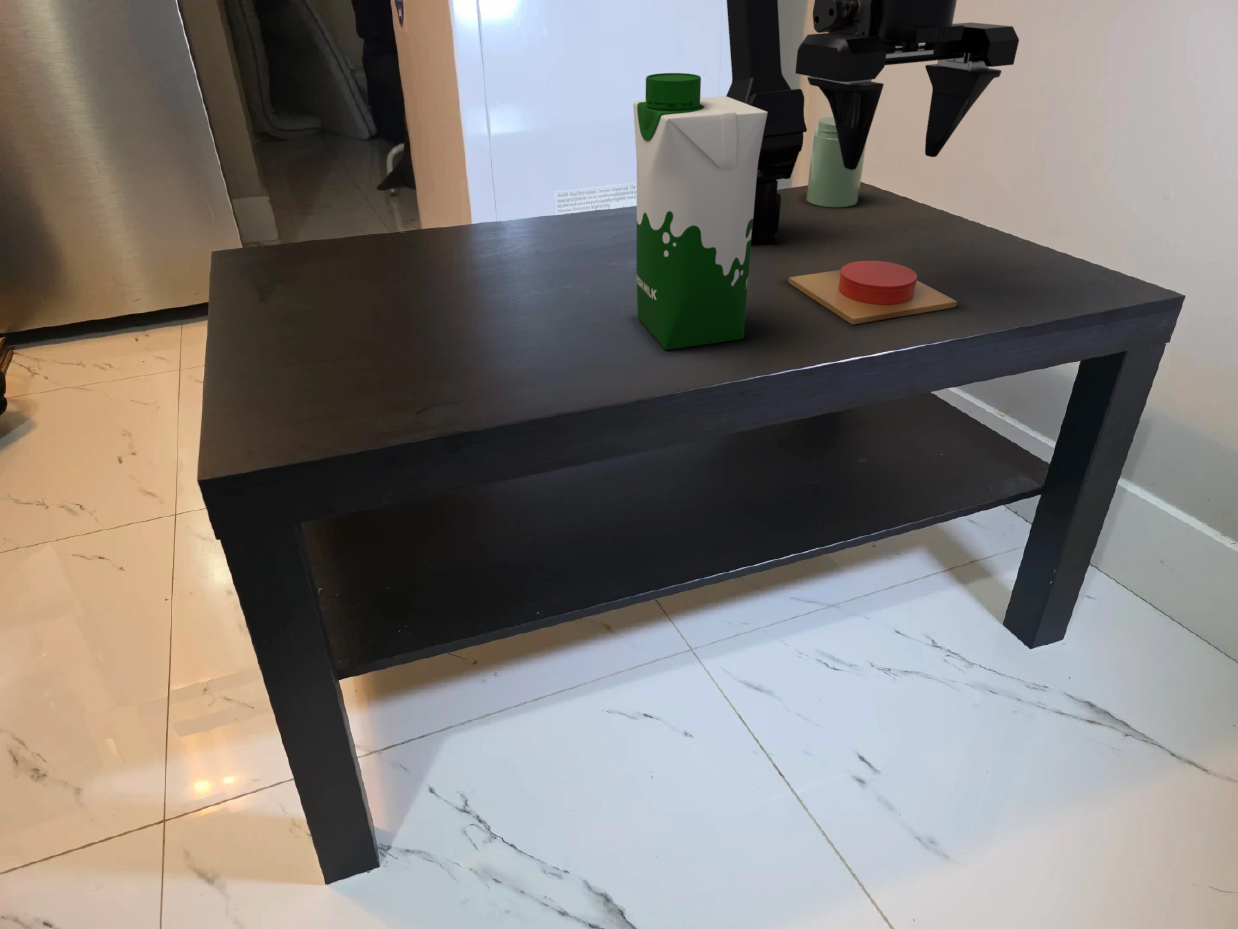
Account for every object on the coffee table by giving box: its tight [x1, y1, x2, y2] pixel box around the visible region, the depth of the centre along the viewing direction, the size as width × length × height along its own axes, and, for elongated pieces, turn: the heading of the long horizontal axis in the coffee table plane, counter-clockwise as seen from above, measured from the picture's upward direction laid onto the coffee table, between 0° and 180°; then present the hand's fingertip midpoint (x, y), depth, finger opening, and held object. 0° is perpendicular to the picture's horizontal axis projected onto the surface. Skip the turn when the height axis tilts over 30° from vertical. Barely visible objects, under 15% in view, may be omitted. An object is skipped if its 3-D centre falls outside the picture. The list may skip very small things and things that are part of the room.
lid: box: [838, 260, 918, 305], centre depth 75 cm, size 7×7×2 cm
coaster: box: [788, 269, 958, 326], centre depth 76 cm, size 11×11×1 cm
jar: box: [805, 116, 868, 208], centre depth 101 cm, size 6×6×10 cm
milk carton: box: [632, 72, 768, 351], centre depth 65 cm, size 9×9×20 cm
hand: (891, 162), depth 70 cm, fingers open, 9 cm apart
